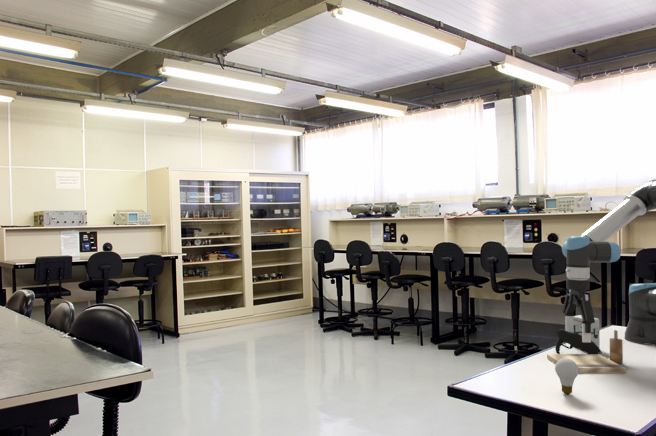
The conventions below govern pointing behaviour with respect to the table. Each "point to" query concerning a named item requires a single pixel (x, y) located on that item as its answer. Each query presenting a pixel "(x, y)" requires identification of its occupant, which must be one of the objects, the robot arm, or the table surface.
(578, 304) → the robot arm
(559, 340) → the gun
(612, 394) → the table surface
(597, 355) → the board
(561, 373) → the light bulb
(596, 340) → the ink box
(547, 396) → the table surface
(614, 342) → the awl
